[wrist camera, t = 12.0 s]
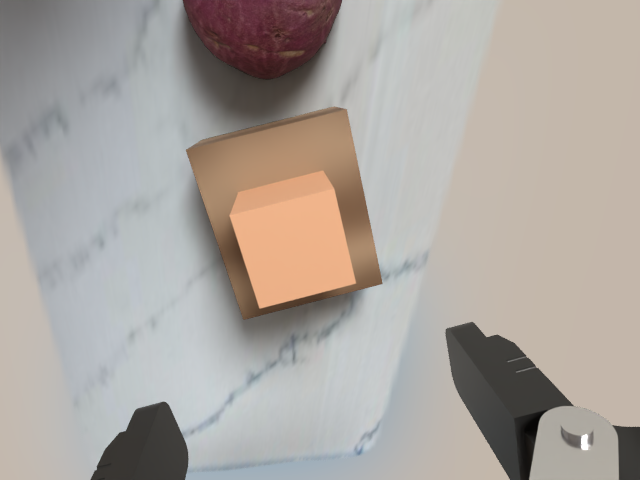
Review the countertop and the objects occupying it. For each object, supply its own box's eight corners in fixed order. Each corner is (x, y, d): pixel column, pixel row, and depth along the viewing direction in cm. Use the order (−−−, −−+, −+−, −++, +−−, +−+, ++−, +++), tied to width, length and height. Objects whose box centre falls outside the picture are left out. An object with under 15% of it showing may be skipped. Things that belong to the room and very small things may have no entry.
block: (238, 192, 27) (229, 215, 22) (323, 170, 27) (334, 188, 22) (262, 270, 29) (259, 308, 24) (341, 249, 29) (356, 283, 24)
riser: (202, 139, 32) (185, 149, 26) (333, 106, 32) (346, 109, 26) (248, 283, 36) (243, 319, 30) (365, 253, 36) (382, 283, 30)
